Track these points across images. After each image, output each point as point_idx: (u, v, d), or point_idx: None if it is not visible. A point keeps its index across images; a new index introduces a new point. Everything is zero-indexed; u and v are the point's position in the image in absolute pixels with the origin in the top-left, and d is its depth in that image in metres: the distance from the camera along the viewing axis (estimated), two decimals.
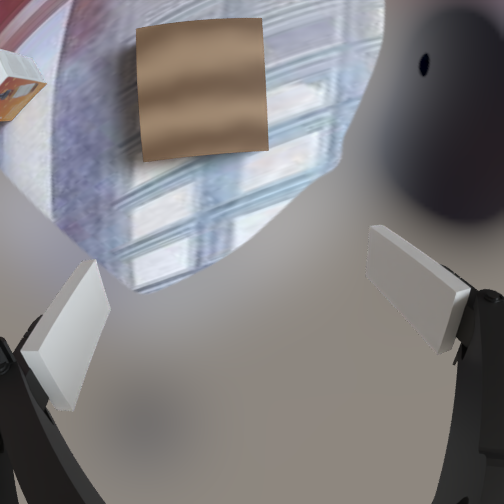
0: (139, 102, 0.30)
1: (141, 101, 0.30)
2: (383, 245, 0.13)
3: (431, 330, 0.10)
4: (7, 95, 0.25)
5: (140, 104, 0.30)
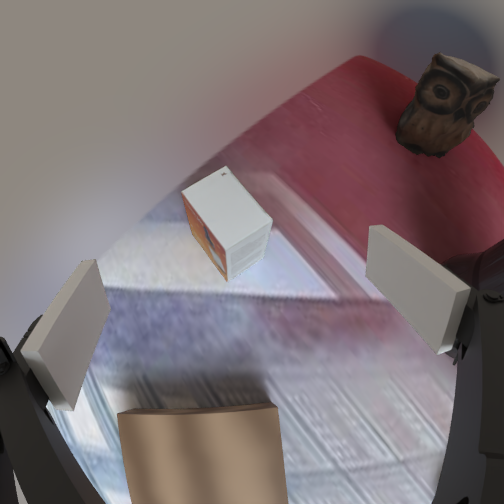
0: (182, 415, 0.27)
1: (183, 418, 0.27)
2: (383, 244, 0.13)
3: (431, 330, 0.10)
4: (209, 242, 0.32)
5: (180, 416, 0.27)
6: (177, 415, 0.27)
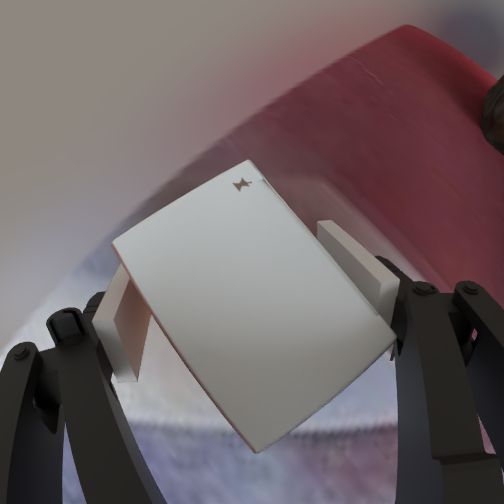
0: None
1: None
2: (327, 238, 0.14)
3: None
4: None
5: None
6: None
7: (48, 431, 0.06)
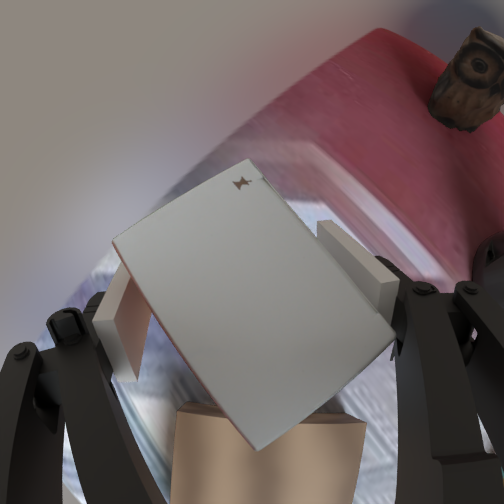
0: None
1: None
2: (327, 238, 0.14)
3: None
4: None
5: None
6: None
7: (48, 431, 0.06)
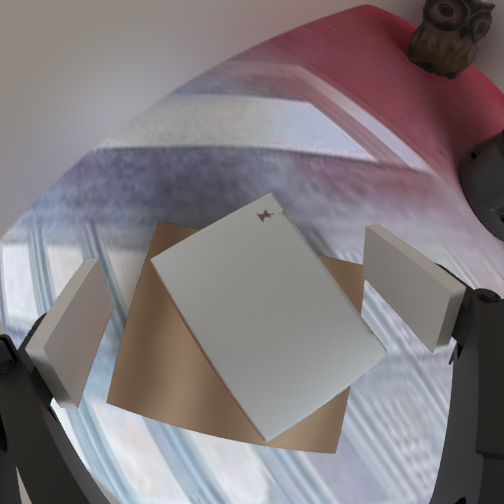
0: None
1: None
2: (379, 244, 0.13)
3: (426, 329, 0.10)
4: None
5: None
6: None
7: None
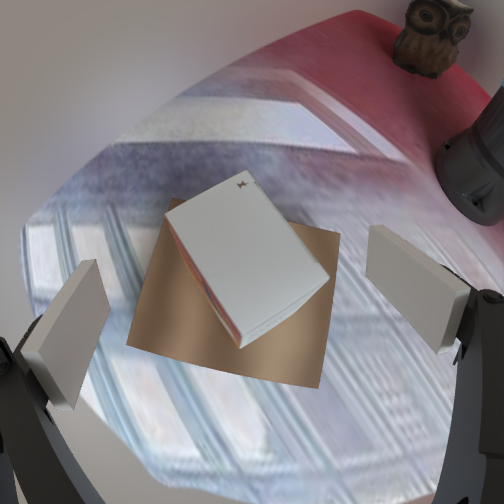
0: None
1: None
2: (383, 245, 0.13)
3: (431, 330, 0.10)
4: (212, 303, 0.18)
5: None
6: None
7: None
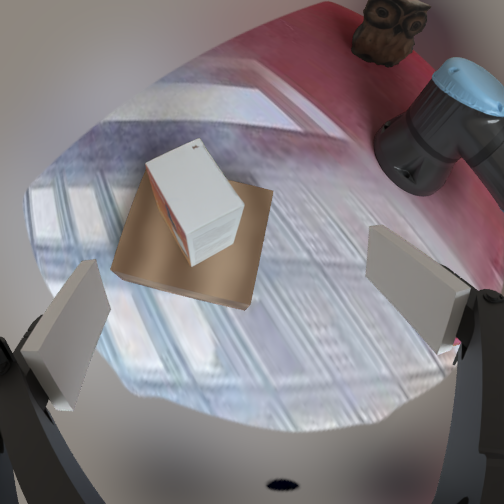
0: None
1: None
2: (384, 244, 0.13)
3: (431, 330, 0.10)
4: (171, 222, 0.28)
5: None
6: None
7: None
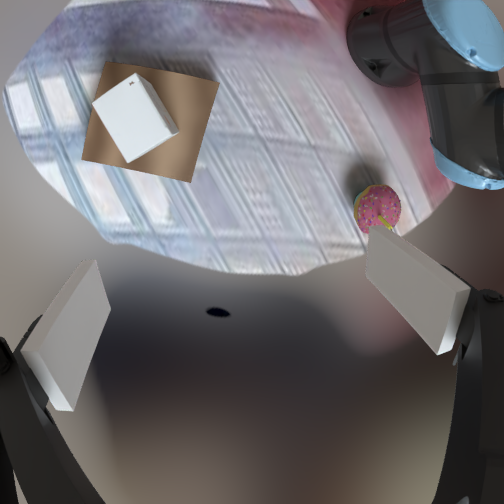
0: (152, 69, 0.34)
1: (152, 70, 0.34)
2: (384, 244, 0.13)
3: (431, 330, 0.10)
4: None
5: (150, 69, 0.34)
6: (148, 68, 0.34)
7: None
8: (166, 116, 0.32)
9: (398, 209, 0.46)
